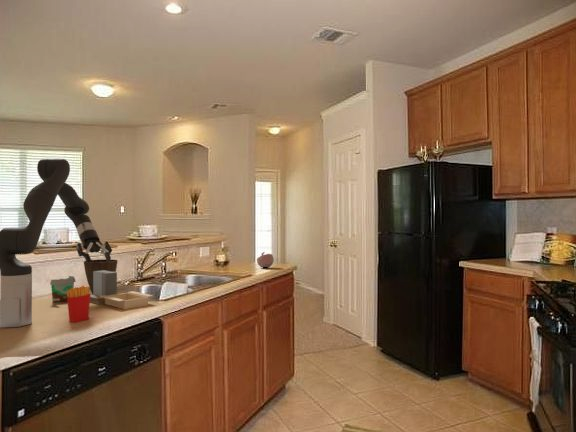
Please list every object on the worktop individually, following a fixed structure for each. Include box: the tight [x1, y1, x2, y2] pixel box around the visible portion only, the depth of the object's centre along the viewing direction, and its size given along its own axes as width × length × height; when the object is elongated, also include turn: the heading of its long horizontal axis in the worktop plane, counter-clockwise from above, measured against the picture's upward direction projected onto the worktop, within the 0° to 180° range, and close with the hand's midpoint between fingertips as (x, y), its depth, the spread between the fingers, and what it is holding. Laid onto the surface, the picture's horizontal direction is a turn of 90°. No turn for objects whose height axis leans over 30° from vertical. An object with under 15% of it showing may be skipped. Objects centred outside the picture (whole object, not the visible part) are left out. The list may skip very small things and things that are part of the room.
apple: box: [256, 251, 275, 268], centre depth 313 cm, size 12×12×12 cm
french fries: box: [66, 285, 91, 323], centre depth 157 cm, size 8×4×12 cm, turn 153°
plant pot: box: [83, 258, 118, 295], centre depth 210 cm, size 15×15×16 cm
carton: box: [99, 290, 154, 310], centre depth 182 cm, size 15×16×4 cm
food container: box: [49, 275, 76, 303], centre depth 194 cm, size 12×6×10 cm, turn 168°
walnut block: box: [90, 292, 120, 305], centre depth 191 cm, size 12×12×3 cm
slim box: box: [93, 270, 118, 296], centre depth 191 cm, size 5×11×10 cm, turn 49°
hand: (99, 261), depth 195 cm, fingers open, 8 cm apart
